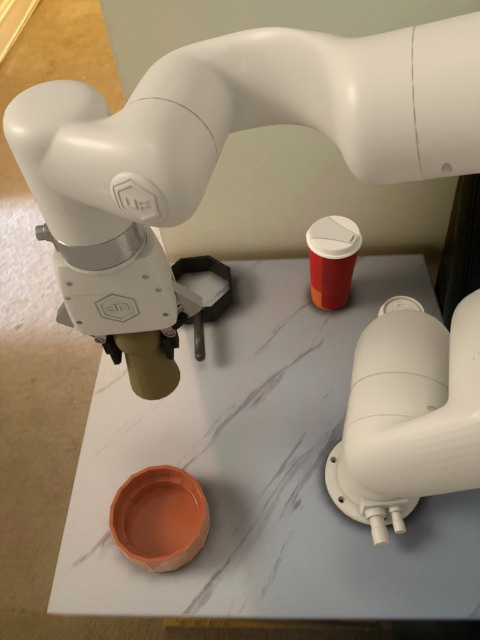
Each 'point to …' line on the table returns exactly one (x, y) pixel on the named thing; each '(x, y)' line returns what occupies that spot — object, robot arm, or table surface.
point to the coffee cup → (332, 260)
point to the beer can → (400, 305)
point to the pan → (211, 311)
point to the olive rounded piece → (148, 364)
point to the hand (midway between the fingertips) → (144, 350)
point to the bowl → (160, 518)
